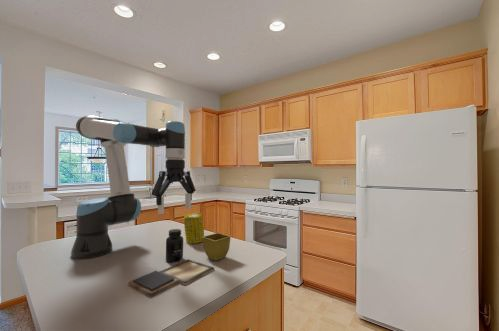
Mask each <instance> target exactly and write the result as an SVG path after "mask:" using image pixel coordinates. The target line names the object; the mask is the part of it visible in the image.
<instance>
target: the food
mask: <svg viewBox="0 0 499 331" xmlns="http://www.w3.org/2000/svg"><path fill="white" fill-rule="evenodd" d="M183 225H184V235H185V241H186V243H188V244H191V245H192V244H199V243H203V239H202V237H204V236H205V229H204V228H205V227H204V220H203V215H202V213H198V212H193V213H188V214H185V215H184V216H183Z"/></svg>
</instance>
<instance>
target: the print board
mask: <svg viewBox="0 0 499 331" xmlns="http://www.w3.org/2000/svg"><path fill="white" fill-rule="evenodd" d="M214 270H215V268H214V266H210V265H207V264H204V263H202V262H199V261H195V260H191V259H189V258H188V259H186V260H183V261H180V262H177V263H176V264H174V265H172V266H169V267H167V268H164V269H162V270H159V271H158V272H160V273H163V274H165V275H168V276H170V277H173V278H175V279H178V283H177V284H179V285H183V286H186V285H188V284H190V283H192V282H194V281H196V280H198V279H200V278H201V277H203V276H206V275H207V274H209V273H211V272H212V271H214Z"/></svg>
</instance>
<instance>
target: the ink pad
mask: <svg viewBox="0 0 499 331" xmlns="http://www.w3.org/2000/svg"><path fill="white" fill-rule="evenodd" d="M173 280H174V278H172V277H169V276H167V275H164V274H162V273H159V271H158V272H157V270H155V271H151V272H149V273H146V274H144V275H143V276H139V277H137V278H135V279H133V280H132V281H133V282H134V283H136V284H138V285H140V286H142V287H144V288H147V289H149V290H151V291H153V290H155V289H157V288H159V287H161V286H163V285H165V284H167V283H169V282H171V281H173Z"/></svg>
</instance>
